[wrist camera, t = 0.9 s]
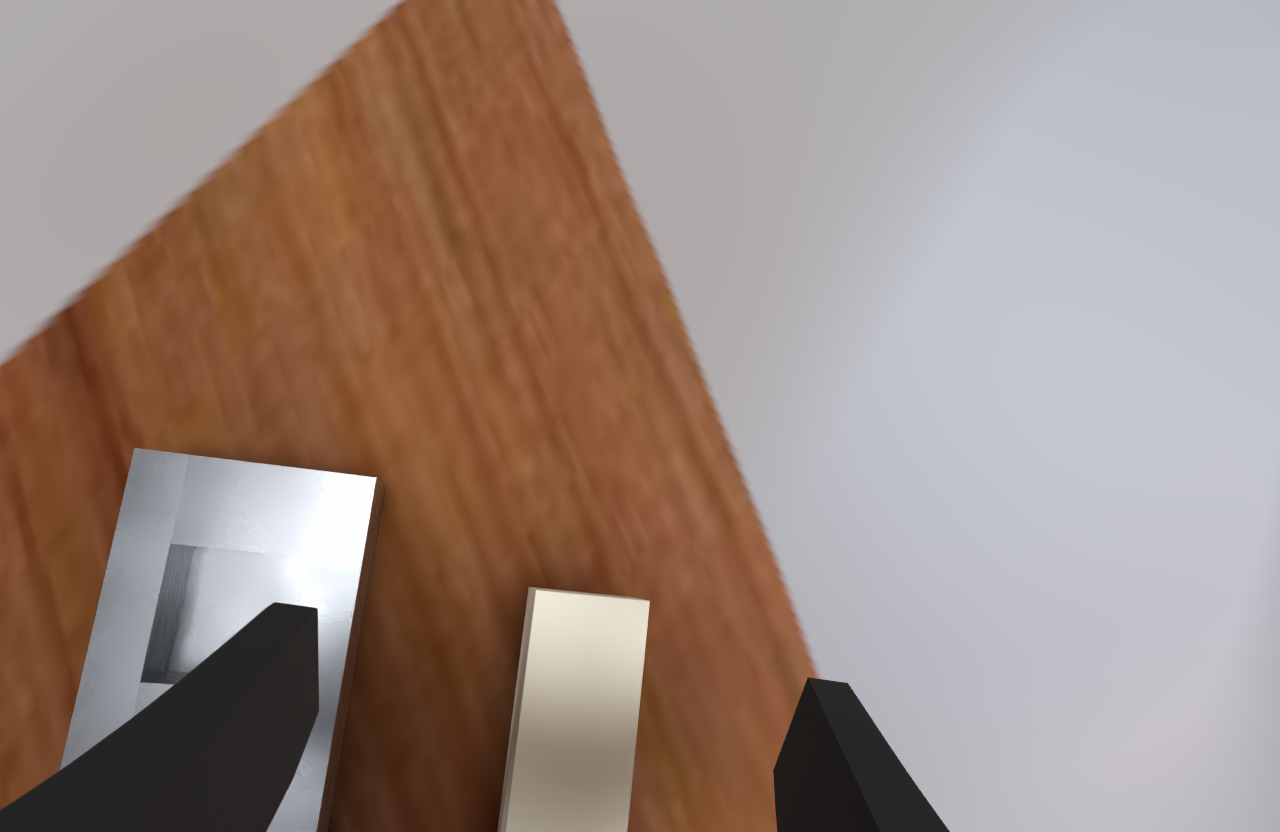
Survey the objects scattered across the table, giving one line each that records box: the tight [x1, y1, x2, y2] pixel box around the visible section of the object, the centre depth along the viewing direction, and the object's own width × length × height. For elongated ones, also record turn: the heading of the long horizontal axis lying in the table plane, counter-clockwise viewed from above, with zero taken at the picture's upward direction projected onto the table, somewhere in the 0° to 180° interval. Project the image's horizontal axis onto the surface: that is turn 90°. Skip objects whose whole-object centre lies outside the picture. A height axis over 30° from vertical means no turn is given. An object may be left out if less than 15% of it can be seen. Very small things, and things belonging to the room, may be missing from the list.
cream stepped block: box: [497, 587, 650, 832], centre depth 22 cm, size 9×3×5 cm, turn 173°
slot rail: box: [60, 448, 385, 832], centre depth 21 cm, size 14×6×3 cm, turn 173°
